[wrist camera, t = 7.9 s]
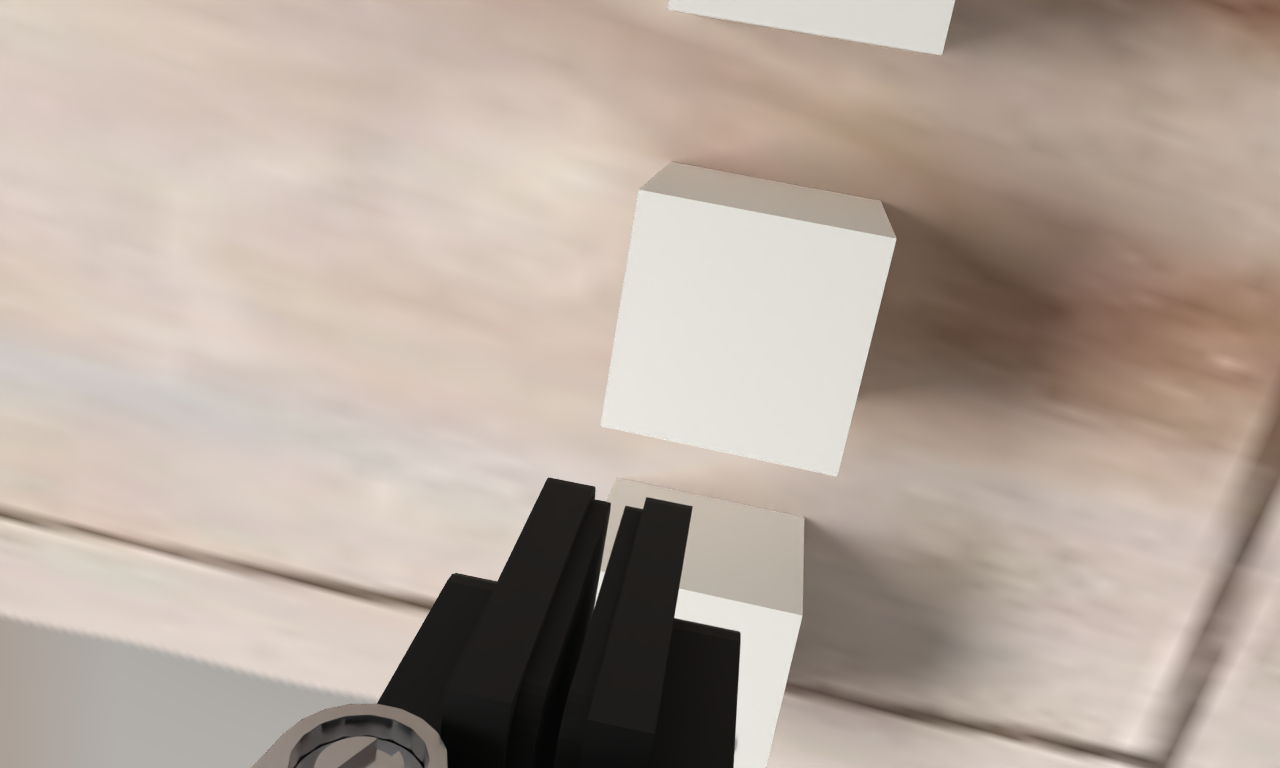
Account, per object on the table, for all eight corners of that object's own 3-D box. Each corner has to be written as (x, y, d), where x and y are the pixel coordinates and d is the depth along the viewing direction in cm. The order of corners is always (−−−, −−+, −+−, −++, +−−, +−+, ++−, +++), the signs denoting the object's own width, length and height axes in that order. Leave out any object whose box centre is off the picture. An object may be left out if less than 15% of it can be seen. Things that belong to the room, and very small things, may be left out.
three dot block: (617, 476, 33) (576, 567, 28) (807, 516, 33) (806, 618, 27) (591, 636, 35) (548, 753, 30) (770, 677, 35) (761, 804, 29)
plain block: (671, 161, 30) (638, 189, 24) (880, 200, 29) (896, 238, 24) (637, 358, 32) (600, 426, 26) (832, 398, 31) (837, 476, 26)
